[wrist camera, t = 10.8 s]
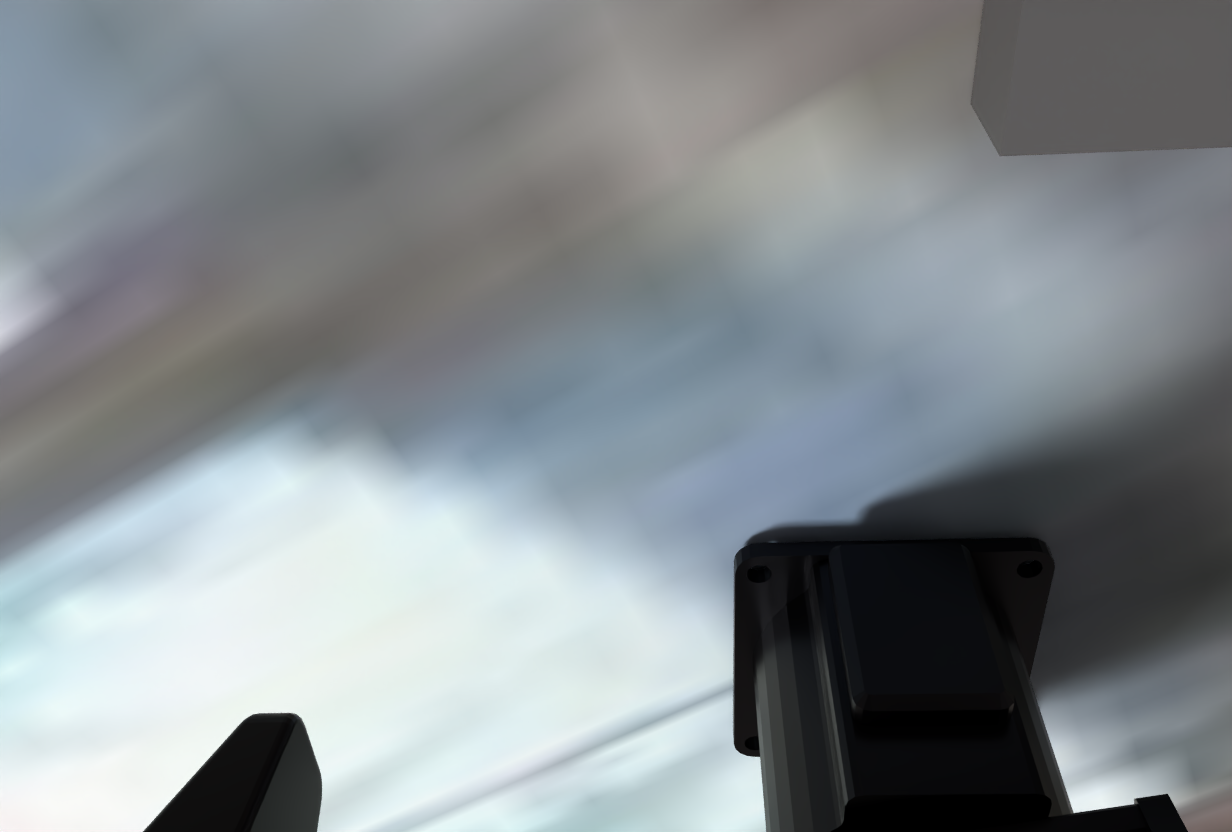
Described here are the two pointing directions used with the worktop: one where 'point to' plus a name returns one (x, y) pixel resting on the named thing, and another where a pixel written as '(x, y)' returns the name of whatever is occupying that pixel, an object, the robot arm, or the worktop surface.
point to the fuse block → (1104, 75)
